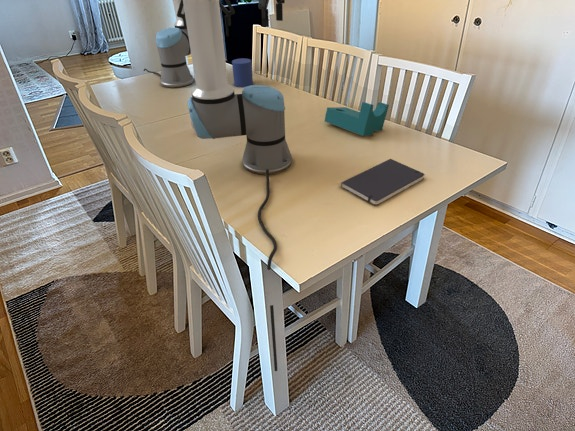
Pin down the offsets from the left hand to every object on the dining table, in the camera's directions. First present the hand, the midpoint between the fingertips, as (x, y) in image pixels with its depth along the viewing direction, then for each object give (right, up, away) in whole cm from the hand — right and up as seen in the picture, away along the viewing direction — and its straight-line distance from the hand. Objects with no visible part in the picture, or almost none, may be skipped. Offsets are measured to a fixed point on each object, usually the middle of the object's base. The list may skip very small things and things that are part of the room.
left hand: (272, 23), depth 169 cm
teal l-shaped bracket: (+31, -48, -23) cm, 62 cm away
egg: (-25, -51, -24) cm, 61 cm away
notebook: (+33, -72, -55) cm, 96 cm away
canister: (-14, -19, +21) cm, 31 cm away
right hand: (-22, -16, -22) cm, 35 cm away
